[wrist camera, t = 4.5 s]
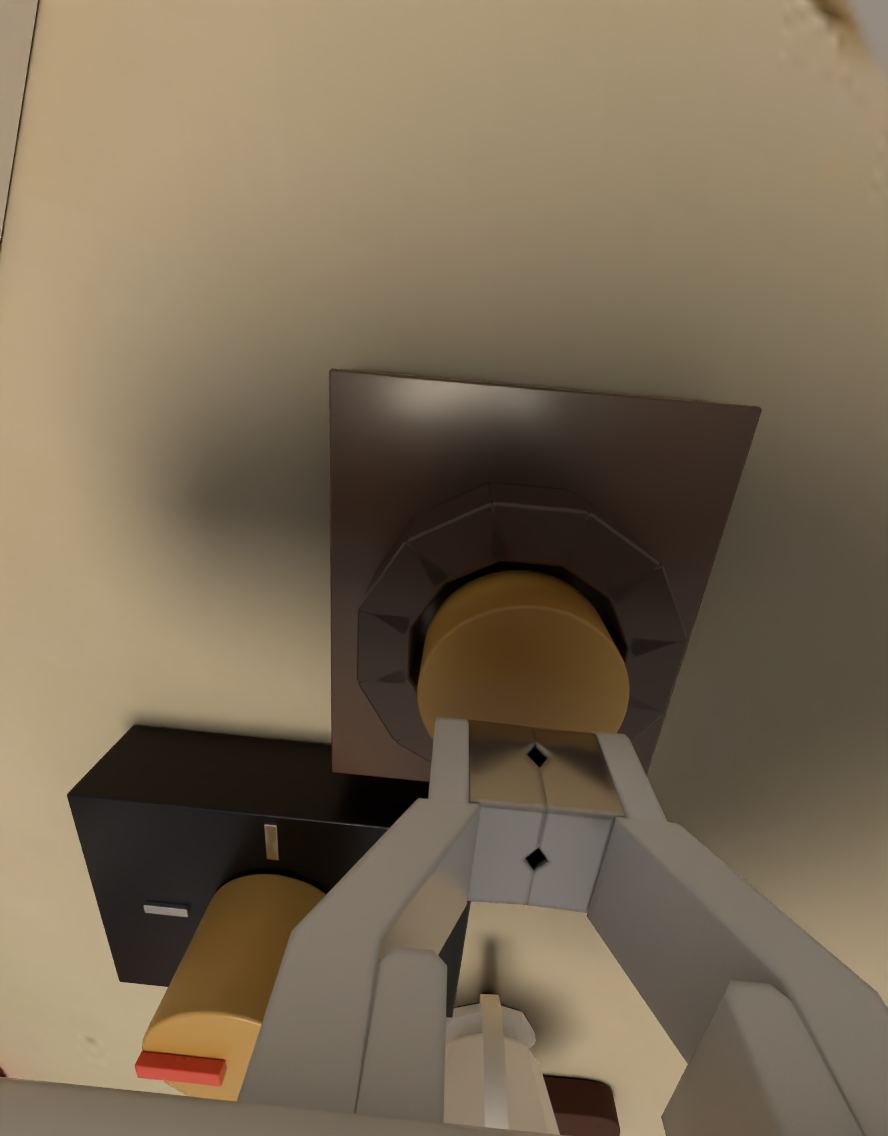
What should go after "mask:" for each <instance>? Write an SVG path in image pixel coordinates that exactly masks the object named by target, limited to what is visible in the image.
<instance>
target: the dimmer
mask: <svg viewBox="0 0 888 1136" xmlns="http://www.w3.org/2000/svg"><path fill="white" fill-rule="evenodd" d="M429 784H430V782H424V781H414V780H404V779H395V778H385V777H375V776H365V775H355V774H345V773H336V772H332V745H325V744H315V743H305V742H296V741H286V740H276V739H266V738H256V737H246V736H236V735H226V734H216V733H206V732H197V731H187V730H177V729H167V728H157V727H147V726H137V725H134V726H132V727H131V728H130V729H129V730H128V731H127V732H126V733H125V734H124V736H123V737H122V738H121V739H120V740H119V741H118V742H117V743H116V744H115V745H114V746H113V747H112V748H111V749H110V750H109V751H108V752H107V753H106V754H105V755H104V756H103V757H102V758H101V759H100V760H99V762H98V763H97V764H96V765H95V766H94V767H93V768H92V769H91V770H90V771H89V772H88V773H87V774H86V775H85V776H84V777H83V778H82V779H81V780H80V781H79V782H78V783H77V784H76V785H75V786H74V787H73V789H72V790H71V791H70V792H69V793H68V794H67V798H68V801H69V805H70V808H71V812H72V815H73V819H74V822H75V826H76V829H77V833H78V836H79V840H80V843H81V847H82V851H83V854H84V858H85V861H86V865H87V868H88V872H89V875H90V879H91V882H92V886H93V889H94V893H95V896H96V900H97V904H98V907H99V911H100V914H101V918H102V921H103V925H104V928H105V932H106V935H107V939H108V942H109V946H110V949H111V953H112V957H113V960H114V964H115V967H116V971H117V974H118V978H119V981H120V982H128V983H137V984H146V985H155V986H164V987H169V985H170V982H171V980H172V978H173V976H174V974H175V972H176V970H177V968H178V966H179V964H180V962H181V960H182V958H183V956H184V954H185V952H186V950H187V948H188V946H189V944H190V942H191V940H192V938H193V936H194V934H195V932H196V930H197V928H198V926H199V924H200V922H201V920H202V918H203V916H204V913H205V911H206V909H207V907H208V905H209V903H210V901H211V899H212V898H213V896H214V894H215V893H216V892H217V891H218V890H219V889H220V888H221V887H222V886H224V885H225V884H226V883H228V882H230V881H232V880H234V879H236V878H239V877H243V876H247V875H253V874H277V875H283V876H288V877H292V878H295V879H298V880H301V881H304V882H306V883H308V884H311V885H312V886H314V887H316V888H318V889H319V890H321V891H322V892H324V893H325V894H327V893H328V892H329V891H330V890H331V889H332V888H333V887H334V886H335V885H336V884H337V883H338V882H339V881H340V880H341V879H342V878H343V877H344V876H345V874H346V873H347V872H348V871H349V870H350V869H351V868H352V867H353V866H354V865H355V864H356V863H357V862H358V861H359V860H360V859H361V858H362V857H363V856H364V854H365V853H366V852H367V851H368V850H369V849H370V848H371V847H372V846H373V845H374V844H375V843H376V842H377V841H378V840H379V839H380V838H381V837H382V836H383V834H384V833H385V832H386V831H387V830H388V829H389V828H390V827H391V826H392V825H393V824H394V823H395V822H396V821H397V820H398V819H399V818H400V817H401V816H402V815H403V813H404V812H405V811H406V810H407V809H408V808H409V807H410V806H411V805H412V804H413V803H414V802H415V801H416V800H417V799H418V798H422V799H428V794H429ZM470 902H471V901H467V905H466V907H465V909H464V910H463V912H462V914H461V916H460V918H459V919H458V921H457V923H456V925H455V926H454V928H453V930H452V932H451V933H450V935H449V937H448V939H447V940H446V942H445V944H444V946H443V947H442V949H441V951H440V953H439V954H438V956H439V957H440V958H441V959H442V960H443V962H444V963H445V964H446V965H447V995H446V1017H449V1018H452V1017H453V1012H454V1005H455V999H456V992H457V986H458V979H459V973H460V967H461V960H462V954H463V947H464V941H465V934H466V928H467V922H468V915H469V909H470Z"/></svg>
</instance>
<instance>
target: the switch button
mask: <svg viewBox="0 0 888 1136" xmlns="http://www.w3.org/2000/svg"><path fill="white" fill-rule="evenodd" d="M628 701H629V679H628V673H627V670H626V666H625V663H624V661H623V659H622V657H621V655H620V653H619V651H618V649H617V647H616V645H615V643H614V642H613V640H612V638H611V636H610V634H609V632H608V631H607V629H606V627H605V625H604V623H603V621H602V620H601V618H600V616H599V614H598V612H597V611H596V609H595V608H594V606H593V605H592V603H591V602H590V601H589V600H588V599H587V598H586V597H585V596H584V595H583V594H582V593H581V592H580V591H578V590H577V589H576V588H575V587H573V586H572V585H570V584H568V583H567V582H565V581H563V580H561V579H559V578H556V577H554V576H551V575H548V574H544V573H541V572H535V571H528V570H508V571H500V572H495V573H490V574H487V575H484V576H481V577H478V578H476V579H474V580H472V581H470V582H468V583H466V584H464V585H463V586H461V587H460V588H458V589H457V590H456V591H454V592H453V593H452V594H451V595H450V596H449V597H447V599H446V600H445V601H444V602H443V603H442V604H441V605H440V606H439V608H438V609H437V611H436V612H435V614H434V616H433V618H432V620H431V622H430V624H429V627H428V630H427V633H426V637H425V643H424V649H423V655H422V661H421V667H420V673H419V679H418V686H417V702H418V708H419V713H420V716H421V719H422V722H423V724H424V726H425V728H426V730H427V732H428V734H429V735H430V736H431V738H432V739H433V741H434V730H435V721H436V718H437V716H438V717H447V718H456V719H465V720H467V721H469V720H477V721H486V722H494V723H503V724H511V725H519V726H528V727H536V728H547V729H558V730H569V731H580V732H590V733H592V732H604V733H617V731H618V730H619V728H620V726H621V724H622V722H623V719H624V717H625V714H626V711H627V706H628Z"/></svg>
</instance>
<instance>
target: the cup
mask: <svg viewBox="0 0 888 1136" xmlns="http://www.w3.org/2000/svg"><path fill="white" fill-rule="evenodd" d="M535 1043H536V1041H535V1032H534V1030H533V1029H532V1027H531V1026H530V1024H529V1022H528V1021H527V1019H526V1017H525V1016H524V1014H523V1012H521V1011H517V1010H514V1009H511V1008H507V1007H504V1006H501V1004H500V999H499V996H498V995H492V994H480V1003H479V1004H474V1005H468V1006H463V1007H458V1008H454V1012H453V1017H452V1018H449V1017H447V1018H446V1038H445V1045H446V1049H445V1080H444V1122H443V1123H451V1124H460V1125H470V1126H479V1127H489V1128H498V1129H508V1130H518V1131H527V1132H537V1133H546V1134H556V1135H560V1133H559V1130H558V1126H557V1123H556V1119H555V1116H554V1112H553V1109H552V1105H551V1102H550V1099H549V1095H548V1092H547V1088H546V1085H545V1081H544V1078H543V1074H542V1071H541V1068H540V1066H539V1064H538V1063H537V1061H536V1059H535V1058H534V1056H533V1055H532V1053H531V1052H530V1048H531V1047H532V1046H533V1045H534V1044H535Z"/></svg>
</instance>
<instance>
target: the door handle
mask: <svg viewBox="0 0 888 1136" xmlns="http://www.w3.org/2000/svg"><path fill="white" fill-rule="evenodd" d="M543 1078H544V1081H545V1085H546V1088H547V1092H548V1095H549V1099H550V1102H551V1105H552V1109H553V1112H554V1116H555V1119H556V1123H557V1126H558V1130H559V1133H560V1135H566V1136H619V1135H620V1127H619V1122H618V1117H617V1112H616V1107H615V1102H614V1097H613V1094H612V1091H611V1090H610V1089H609V1088H608V1087H607V1086H605V1085H603V1084H601V1083H597V1082H593V1081H586V1080H576V1079H565V1078H554V1077H544V1076H543Z"/></svg>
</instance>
